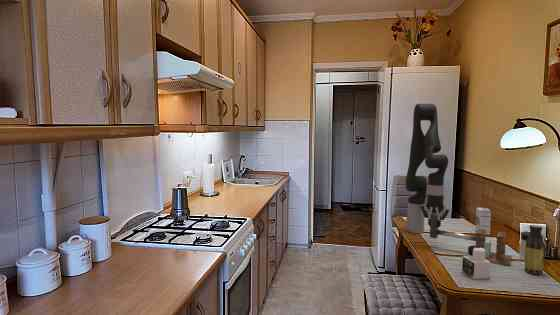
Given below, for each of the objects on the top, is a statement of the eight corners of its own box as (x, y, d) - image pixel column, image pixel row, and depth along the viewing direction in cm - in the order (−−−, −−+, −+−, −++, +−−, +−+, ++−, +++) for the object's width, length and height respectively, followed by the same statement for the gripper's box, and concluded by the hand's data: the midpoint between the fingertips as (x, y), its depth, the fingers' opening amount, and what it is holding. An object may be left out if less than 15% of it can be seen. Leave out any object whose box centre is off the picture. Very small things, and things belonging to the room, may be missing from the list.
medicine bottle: (461, 271, 136) (462, 244, 135) (477, 271, 136) (478, 243, 135) (473, 279, 129) (474, 250, 128) (489, 278, 129) (491, 249, 128)
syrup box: (490, 234, 183) (491, 210, 182) (478, 234, 185) (480, 209, 183) (485, 231, 189) (487, 207, 188) (474, 231, 190) (476, 207, 189)
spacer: (483, 257, 149) (484, 242, 148) (485, 252, 154) (486, 238, 154) (488, 258, 148) (489, 243, 147) (490, 253, 153) (490, 239, 153)
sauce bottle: (546, 276, 131) (549, 228, 129) (527, 274, 133) (530, 227, 131) (538, 269, 137) (541, 224, 136) (521, 268, 139) (524, 223, 137)
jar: (546, 261, 146) (548, 235, 145) (536, 264, 142) (538, 238, 141) (524, 254, 154) (525, 230, 153) (514, 257, 150) (516, 232, 150)
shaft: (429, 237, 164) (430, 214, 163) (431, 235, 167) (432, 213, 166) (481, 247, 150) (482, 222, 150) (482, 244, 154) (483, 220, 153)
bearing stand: (468, 257, 150) (469, 232, 150) (472, 250, 160) (473, 226, 159) (510, 266, 141) (511, 239, 140) (511, 257, 150) (512, 233, 149)
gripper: (418, 193, 164) (417, 225, 166) (449, 196, 156) (448, 231, 157) (422, 190, 170) (421, 222, 172) (452, 193, 162) (450, 227, 163)
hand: (434, 226), depth 164 cm, fingers closed on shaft, 3 cm apart
